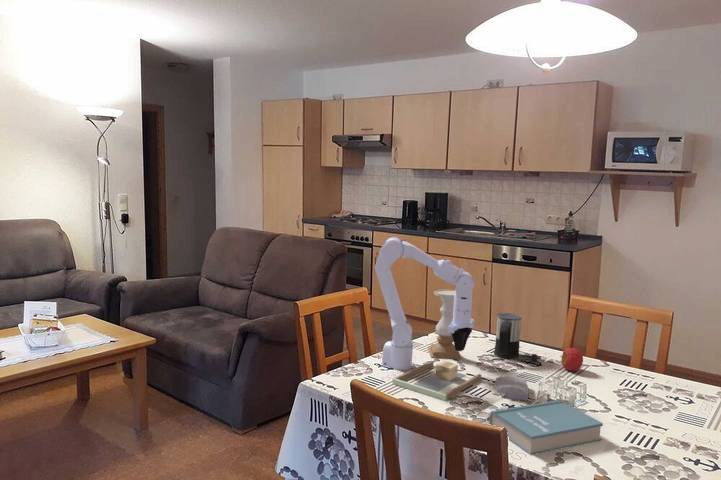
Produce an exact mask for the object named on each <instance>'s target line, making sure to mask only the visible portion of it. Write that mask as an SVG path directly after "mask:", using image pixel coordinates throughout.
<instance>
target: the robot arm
mask: <svg viewBox="0 0 721 480" xmlns="http://www.w3.org/2000/svg"><path fill="white" fill-rule="evenodd" d="M378 252H379V253H378V256H377V260H376V263H375V264H374V265H375V266H374V270H375V274H376V277H377V280H378V282H379V283H378V284H379V286H380V290H381V293H382V296H383V300H384V302H385V305H386V309H387V312H388V315H389V319H390V323H391V324H390V325H391V329H392V334H391V335H392V336H391V339H392V340H388V341H387V342H385V344H384V345H383V349H382V361H381V368H383V367H385V366H386V367H389V368H391V369H393V370H399V371H407V370H408V371H409V370H410V369H412V367H413V347H414V346H413V345H414V343H413V342H412V340H413V327H412V325H411V324H410V322H408V320H407V317H406V315H405V313H404V310H403V307H402V303H401V300H400V296H399V293H398V291H397V287H396V283H395V280H394V277H393V274H392V271H391V267H393V265H394V263H395V262H396V261H397V260H398V259H399V258H400V257H401V256H402V259H411V258H412V259H413V260H415V261H417V262H419V263H421V264H422V265H425V266H426V267H429V268H430V269H432V270H433V275H435V276H436V277H438V278H439V279H441V280H444V281H445V282H446V283H448V284H450V285H453V286H455V289H454V290H455V295H454V302H453V314H452V320H453V321H452V323H451V324H450V325H449V326H448V332H449V333H451V334H452V337H453V340H454V342H453V345H455V350H457V351H459V352H462V351H464V350H465V349H466V345H467V341H468V339H469V337H470V336H471V333H472V331H473V328H474V325H475V319H474V318H472V308H473V307H472V306H473V305H472V304H473V289H474V287H475V281H474V278H473V276H472V275H471V274H470V273H469V272H468V271H467V270H465V269H464V268H462V267H461V268H459V267H458V266H456V265H454V264H452V261H451V260H449V259H446V260H445V259H436V258H434V257H433V256H431V255H429V254H428V253H426V252H425V251H423V250H422V249H420V248H418V247H417V246H416V245H413V244H411V243H409V241H406V240H402V239H400V238H399V237H397V236H391V237H389V238H387V239H386V241H384V243H383V244H382V246H381V248H380V250H379V251H378Z"/></svg>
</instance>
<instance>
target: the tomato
mask: <svg viewBox="0 0 721 480" xmlns="http://www.w3.org/2000/svg"><path fill="white" fill-rule="evenodd" d="M559 357H561V360H560V361H561V365H562V367H563V368H564V369H565V370H567V371H568V372H575V371H578V370H580V369H581V368H582V366H583V363H584V356H583V354H582V352H581V351H580V350H579V349H577V348H576V347H575V348H574V347H568V348H566V349H565V350H563V351H562V355H559Z"/></svg>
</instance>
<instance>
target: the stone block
mask: <svg viewBox="0 0 721 480" xmlns="http://www.w3.org/2000/svg"><path fill="white" fill-rule="evenodd" d="M493 388H494V390H496V392H498V393H500V394H504V395H503V396H501V399H504V400H505V399H506V400H517V401H528V398H529V397H528V396H529V386H528V384H527V378H521V377H518V376H512V375H504V376H498V377H496V378H495V382H494V385H493Z"/></svg>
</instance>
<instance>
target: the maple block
mask: <svg viewBox="0 0 721 480" xmlns="http://www.w3.org/2000/svg"><path fill="white" fill-rule="evenodd" d="M458 366H459V364H457V363H453V362H450V361H446V360H443V361H441V362H438V363H436V364H435V373H436V374H435V373H434V374H435V377H438V378H441V379H444V380H448V381H450V380H452V379H454V378H456V377H457V373H458V369H459V367H458Z"/></svg>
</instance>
